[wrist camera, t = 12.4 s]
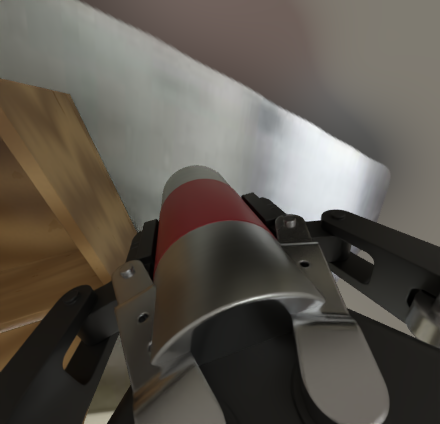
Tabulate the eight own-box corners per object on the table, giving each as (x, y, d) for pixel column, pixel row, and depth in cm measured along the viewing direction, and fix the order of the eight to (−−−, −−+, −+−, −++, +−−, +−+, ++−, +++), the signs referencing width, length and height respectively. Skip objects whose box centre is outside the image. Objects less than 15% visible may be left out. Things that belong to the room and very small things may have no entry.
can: (174, 234, 16) (180, 442, 6) (151, 174, 14) (93, 353, 3) (233, 217, 17) (334, 378, 7) (222, 157, 15) (358, 261, 4)
